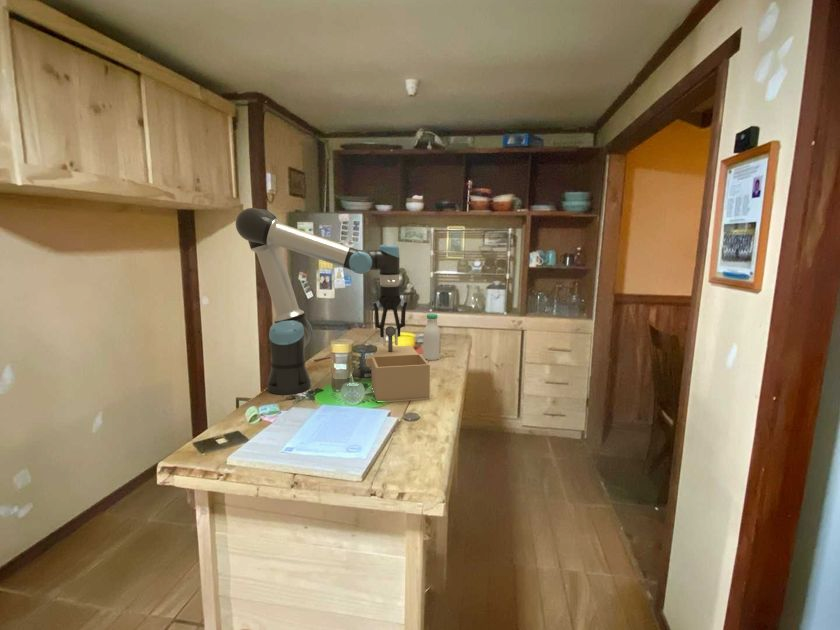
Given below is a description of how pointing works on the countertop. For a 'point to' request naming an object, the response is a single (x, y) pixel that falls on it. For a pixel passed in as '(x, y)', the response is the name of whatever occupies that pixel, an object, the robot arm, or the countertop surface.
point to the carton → (400, 377)
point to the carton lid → (391, 348)
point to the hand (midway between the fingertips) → (390, 344)
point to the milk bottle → (431, 339)
